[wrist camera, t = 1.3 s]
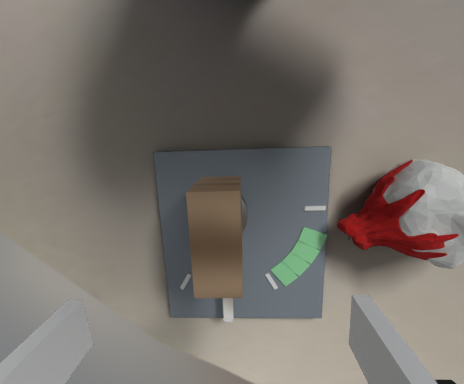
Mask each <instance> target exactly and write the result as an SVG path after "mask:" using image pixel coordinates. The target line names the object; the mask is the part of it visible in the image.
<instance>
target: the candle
mask: <svg viewBox="0 0 464 384" xmlns="http://www.w3.org/2000/svg"><path fill="white" fill-rule="evenodd" d="M337 227H338V228H339V229H340V230H341V231H342V232H344V233H346V234H347V235H348V236H349V237H348V239H350V238H351V237H352V239H353V242H354V244H355V245H356V246H358V247H359V248H361V249H363V250H366V249H368V248H370V247H372V246H386V247H390V248H392V249H394V250H396V251H398V252H401V253H404V254H406V255H408V256H412V257H416V258H420V259H424V260H428V261H430V262H431V263H432V264H434V265H435V266H438V267H443V268H449V269H452V268H455V267H456V266H458V265H459V264H461V263H463V262H464V175H463V174H462V173H460V172H459V171H457V170H456V169H454V168H451V167H447V166H445V165H443V164H441V163H436V162H432V161H428V160H424V159H423V160H417V159H412V160H408V161H405V162H402V163H400V164H398V165H397V166H395V167H394V168H393V169H391V170H390V171H389V172H388V173H387V174H386V175H385V176H384V177H382V178H381V179H380V180H379V181H378V182H377V183H376V185H375V187H374V188H373V190H372V193H371V195H370V196H369V197H368V198H367V200H366V201H365V203H364V206H363V209H362V210H361V211H360V212H359V213H358V214H353V213H352V214H350V215H349V216H348V217H347V218H345V219H342V220H339V221H338V224H337Z"/></svg>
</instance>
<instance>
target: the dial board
mask: <svg viewBox="0 0 464 384" xmlns="http://www.w3.org/2000/svg"><path fill="white" fill-rule="evenodd" d="M153 155H154V164H155V174H156V183H157V193H158V202H159V212H160V221H161V231H162V240H163V250H164V259H165V269H166V278H167V288H168V297H169V307H170V316H171V317H200V318H224V315H223V298H194V288H193V275H192V262H191V250H190V237H189V224H188V211H187V199H186V192H187V191H188V190H189V189H190V188H191V187H192V186H193V185H194V184H195V183H196V182H197V181H198V180H199V179H200V178H201V177H221V176H241V196H242V197H243V198H244V200H245V202H246V205H247V217H248V219H247V225H246V227H245V229H244V231H243V232H242V241H243V298H233V314H234V318H322V303H323V285H324V268H325V250H326V238H327V234H326V233H327V215H328V198H329V180H330V163H331V147H329V146H323V147H291V148H260V149H229V150H197V151H166V152H153Z"/></svg>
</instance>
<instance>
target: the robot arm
mask: <svg viewBox="0 0 464 384" xmlns="http://www.w3.org/2000/svg"><path fill="white" fill-rule="evenodd" d="M349 345H350V347H351V349H352V351H353V353H354V355H355V357H356V359H357V361H358V363H359V366H360V368H361V370H362V372H363V374H364V376H365V378H366V380H367V382H368V384H456V383H455V382H453V381H452V380H434V378H433V377H432V376H431V374H430V373H429V372H428V371H427V369H426V368H425V367H424V365H423V364H422V363H421V362H420V360H419V359H418V358H417V356H416V355H415V354H414V352H413V351H412V350H411V349H410V347H409V346H408V345H407V343H406V342H405V341H404V340H403V338H402V337H401V336H400V334H399V333H398V332H397V330H396V329H395V328H394V327H393V325H392V324H391V323H390V321H389V320H388V319H387V318H386V316H385V315H384V314H383V312H382V311H381V310H380V308H379V307H378V306H377V305H376V303H375V302H374V301H373V299H372V298H371V297H370V296H369V295H352V303H351V318H350V333H349ZM92 346H93V342H92V338H91V333H90V329H89V325H88V321H87V316H86V312H85V308H84V304H83V300H67V302H65V303H64V304H63V305H62V306H61V307H60V308H59V309H58V310H57V311H56V312H55V313H54V314H52V315H51V316H50V317H49V318H48V319H47V320H46V321H45V322H44V323H43V324H42V325H41V326H40V327H39V328H37V329H36V331H34V332H33V333H32V334H31V335H30V336H29V337H28V338H27V339H26V340H25V341H24V342H22V344H20V345H19V346H18V347H17V348H16V349H15V350H14V351H13V352H12V353H11V354H10V355H9V356H7V357H6V359H4V360H3V361H2V362H1V363H0V384H65V383H66V382H67V380H68V379H69V378H70V376H71V375H72V374H73V372H74V371H75V369H76V368H77V367H78V365H79V364H80V362H81V361H82V360H83V358H84V357H85V356H86V354H87V353H88V351H89V350H90V349H91V347H92Z"/></svg>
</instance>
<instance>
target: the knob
mask: <svg viewBox="0 0 464 384" xmlns="http://www.w3.org/2000/svg"><path fill="white" fill-rule="evenodd" d="M186 199H187V211H188V224H189V237H190V250H191V262H192V275H193V288H194V298H223V315H224V322H234V314H233V298H243V241H242V232H243V231H244V229H245V227H246V225H247V219H248V217H247V205H246V202H245V200H244V198H243V197H242V196H241V176H221V177H201V178H200V179H199V180H198V181H197V182H196V183H195V184H194V185H193V186H192V187H191V188H190V189H189V190H188V191H187V192H186Z"/></svg>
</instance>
